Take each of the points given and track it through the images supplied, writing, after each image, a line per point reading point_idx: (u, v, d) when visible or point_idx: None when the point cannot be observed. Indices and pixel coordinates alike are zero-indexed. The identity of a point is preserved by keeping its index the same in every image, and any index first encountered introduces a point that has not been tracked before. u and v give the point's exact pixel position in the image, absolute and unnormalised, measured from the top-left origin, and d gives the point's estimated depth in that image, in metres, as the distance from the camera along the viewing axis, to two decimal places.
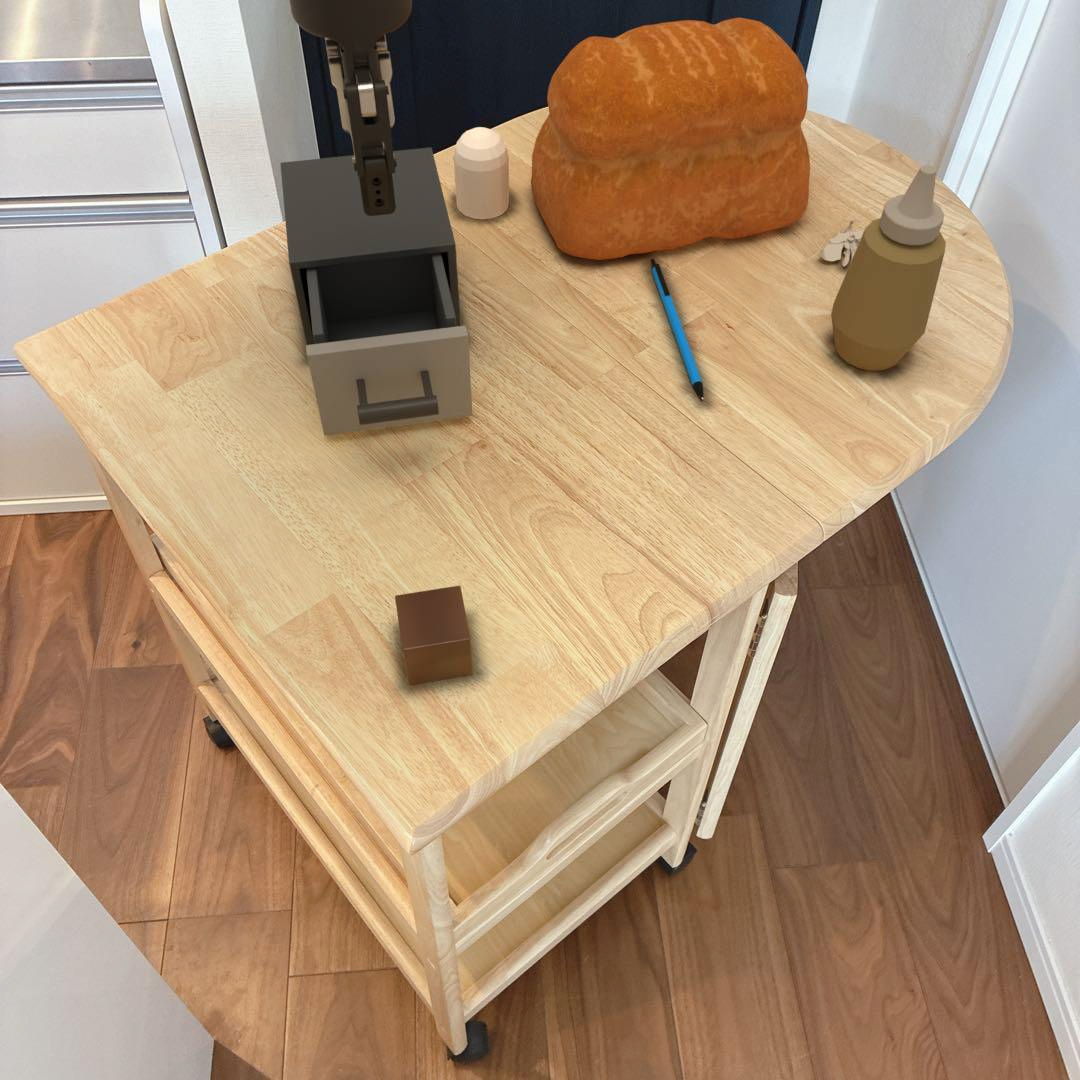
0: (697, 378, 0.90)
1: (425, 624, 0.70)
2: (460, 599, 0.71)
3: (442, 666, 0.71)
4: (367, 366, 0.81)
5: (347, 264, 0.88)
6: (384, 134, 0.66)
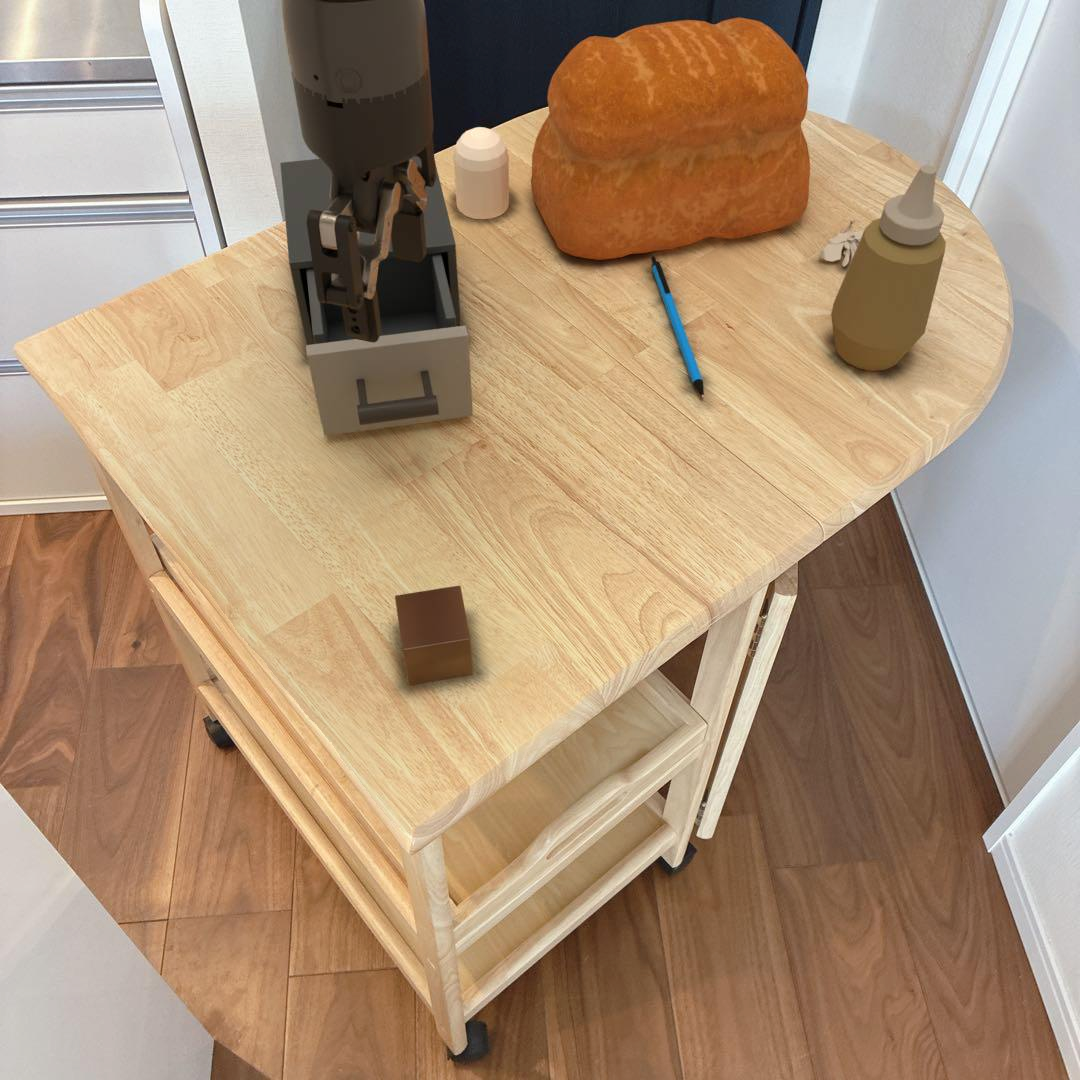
0: (697, 376, 0.90)
1: (425, 624, 0.70)
2: (460, 599, 0.71)
3: (442, 666, 0.71)
4: (367, 366, 0.81)
5: None
6: (344, 270, 0.60)
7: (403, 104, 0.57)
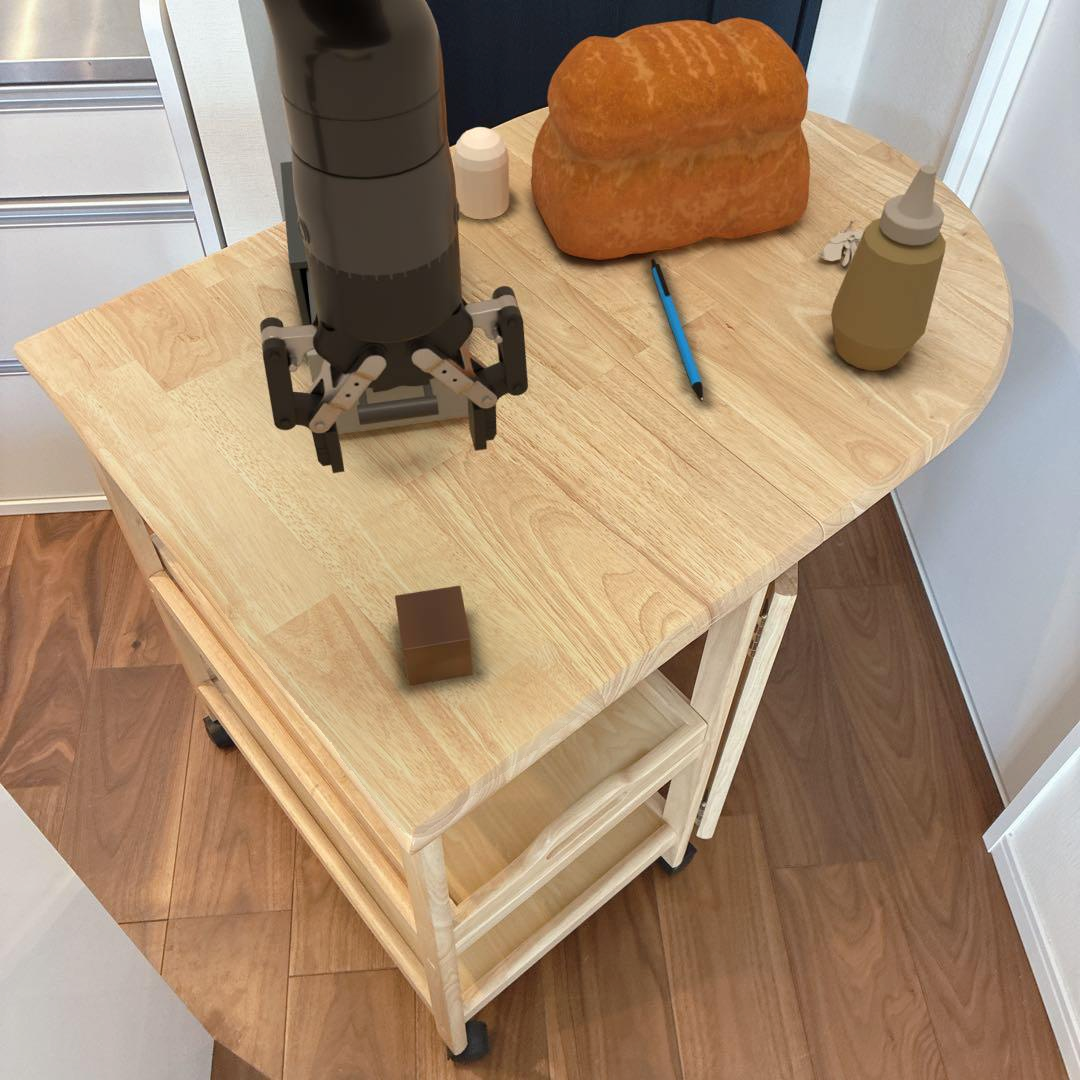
0: (697, 378, 0.90)
1: (425, 624, 0.70)
2: (460, 599, 0.71)
3: (442, 666, 0.71)
4: None
5: None
6: None
7: (348, 286, 0.50)
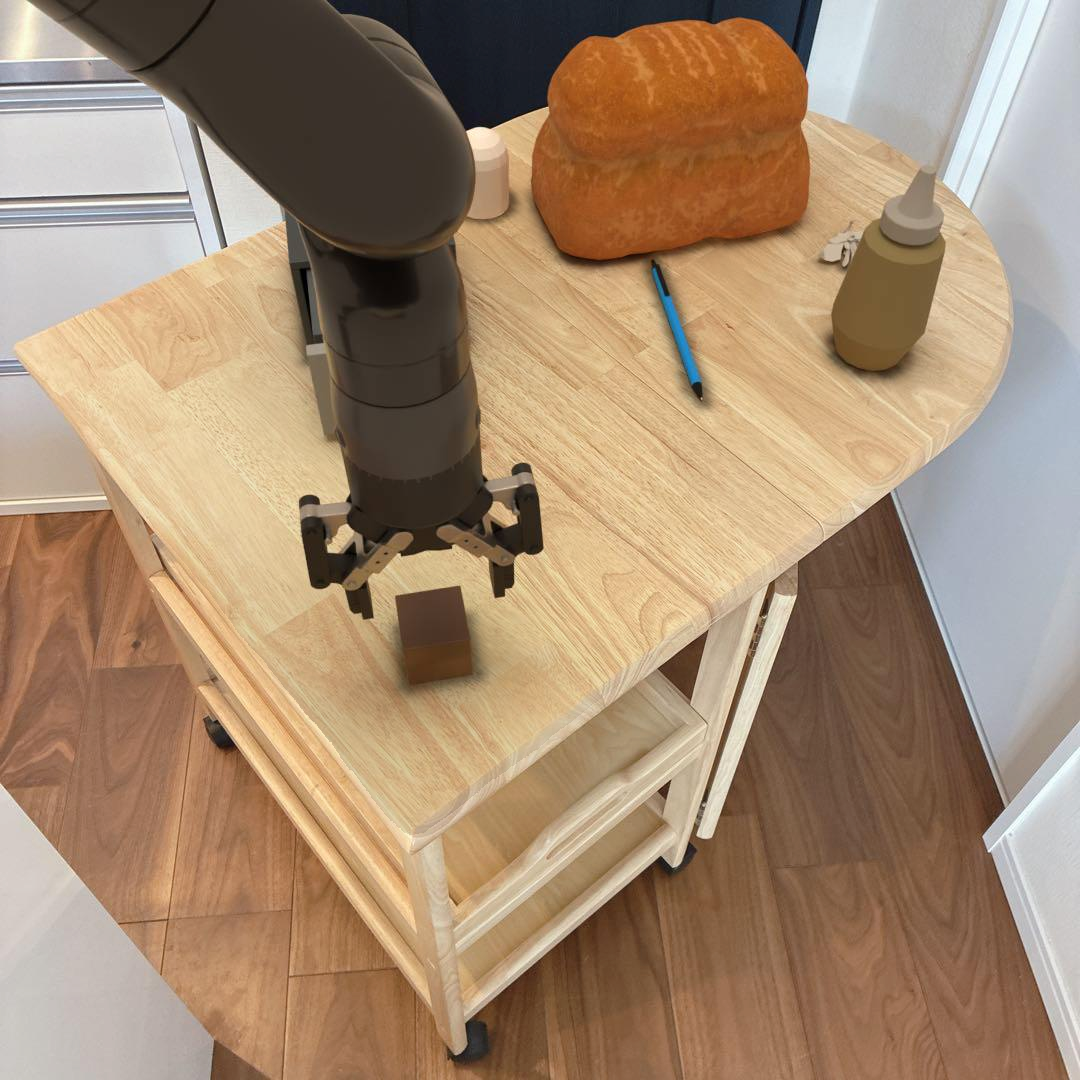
0: (696, 378, 0.90)
1: (425, 624, 0.70)
2: (460, 599, 0.71)
3: (442, 666, 0.71)
4: None
5: None
6: None
7: (379, 486, 0.55)
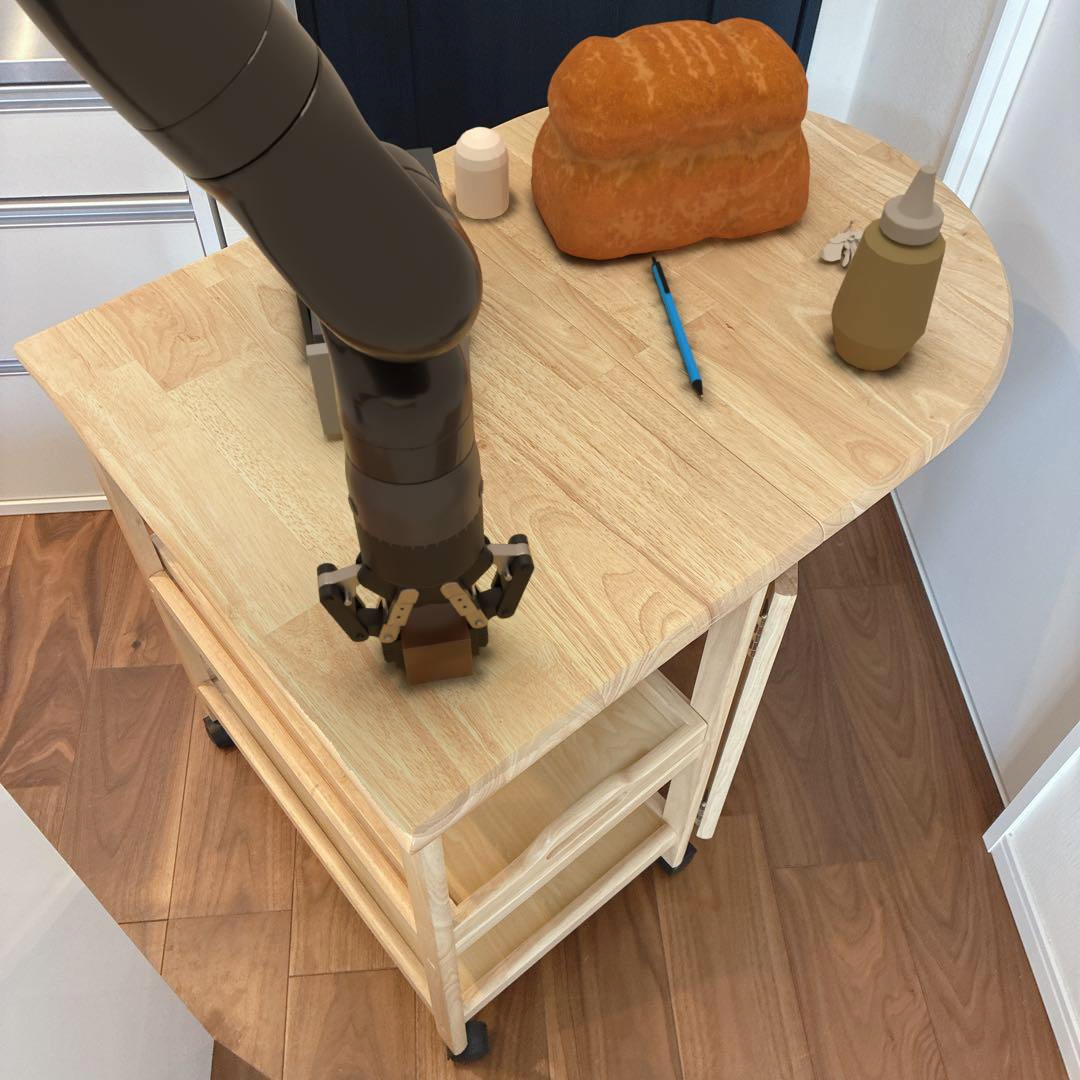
0: (696, 376, 0.90)
1: (425, 624, 0.70)
2: None
3: (442, 667, 0.71)
4: None
5: None
6: None
7: (389, 551, 0.59)
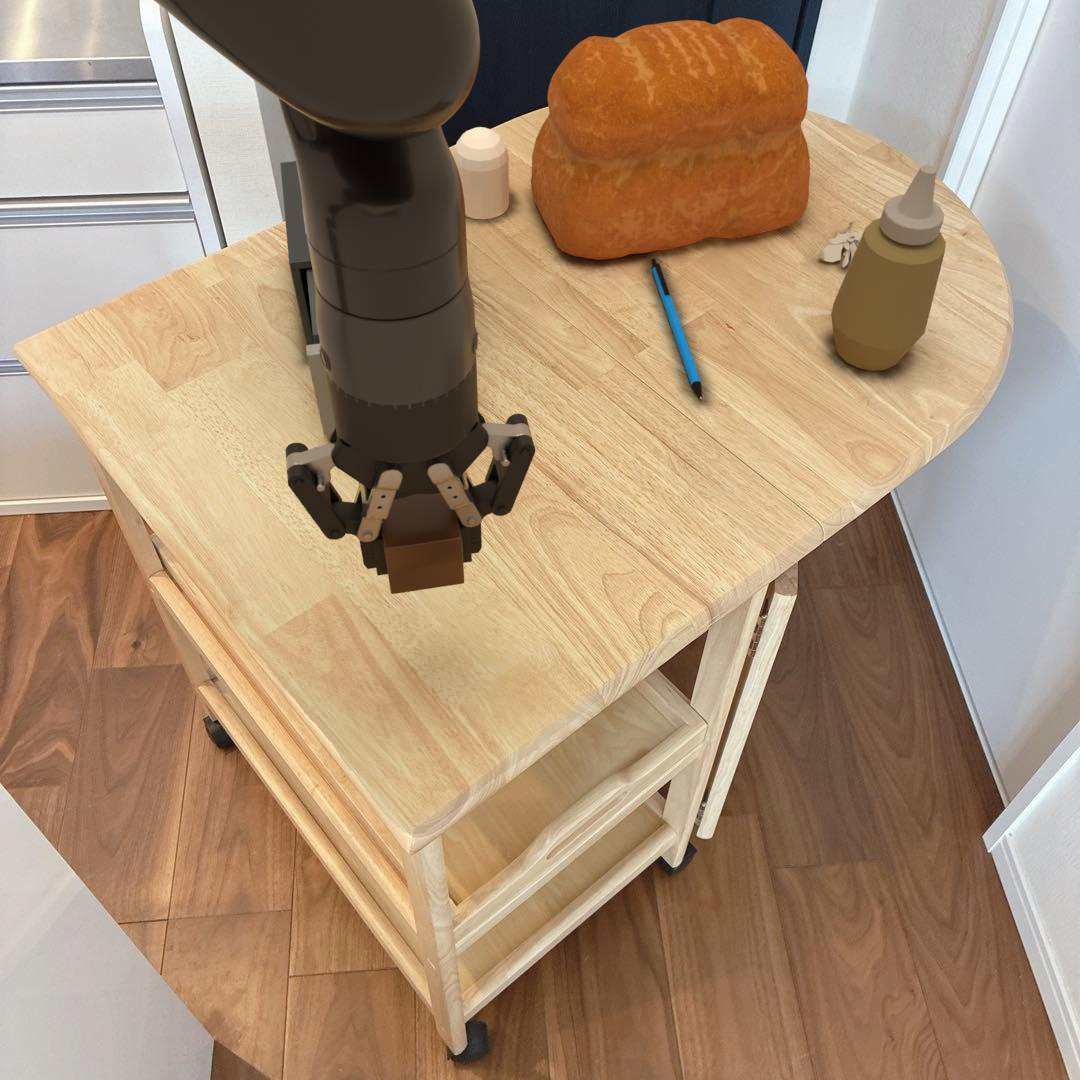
0: (696, 378, 0.90)
1: (410, 522, 0.62)
2: None
3: (430, 572, 0.63)
4: None
5: None
6: None
7: (367, 413, 0.51)
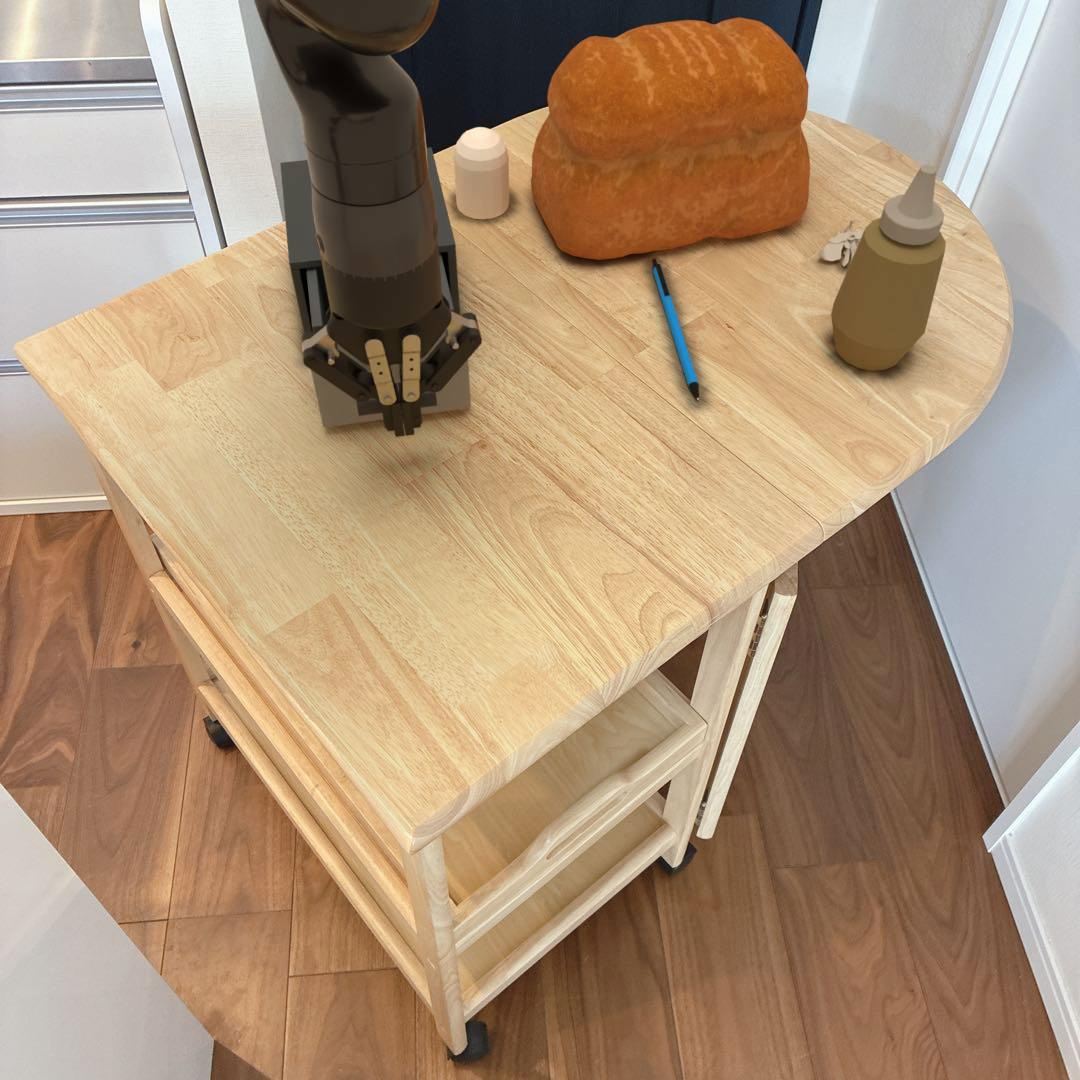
0: (693, 378, 0.90)
1: None
2: None
3: None
4: None
5: None
6: None
7: (353, 285, 0.65)
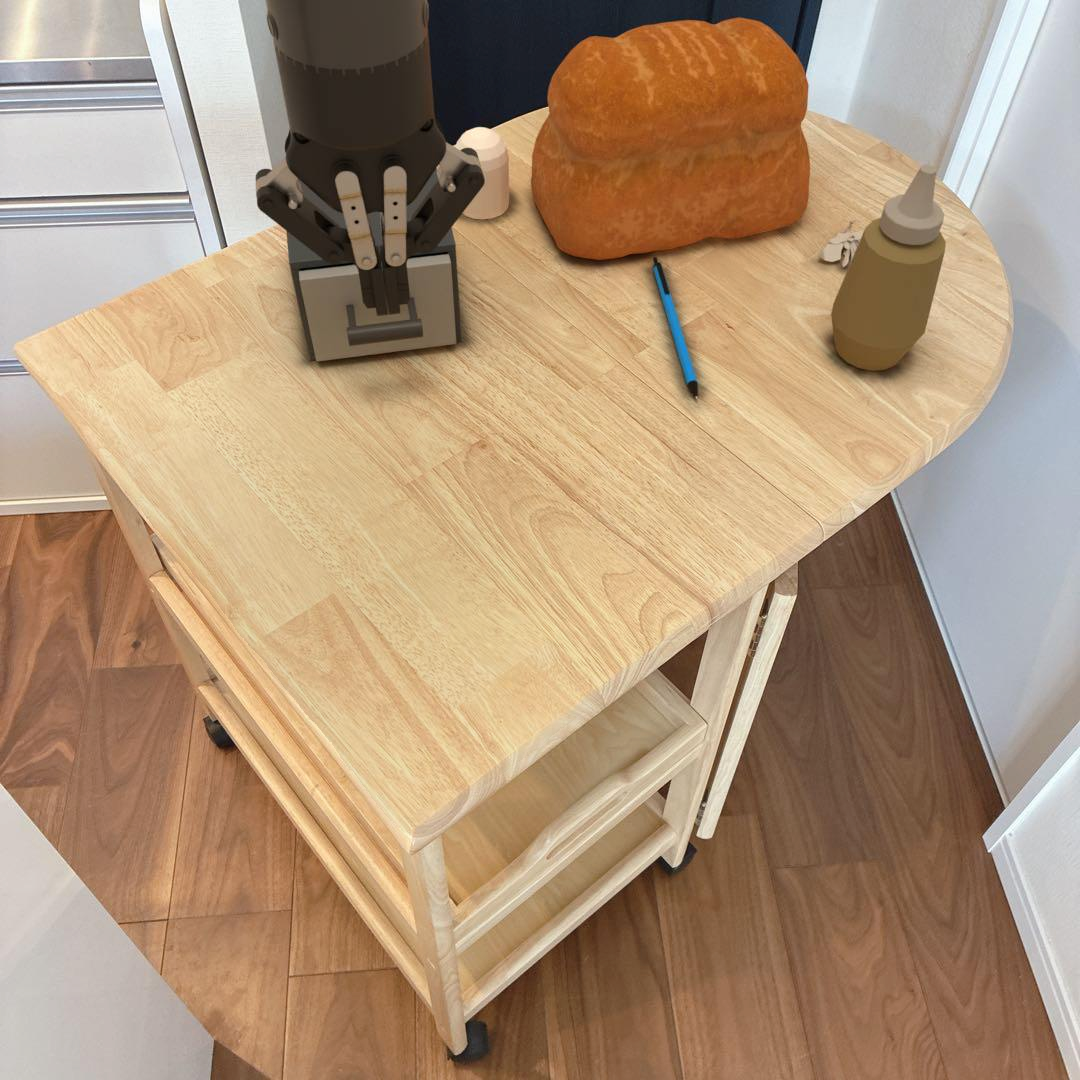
0: (692, 377, 0.90)
1: None
2: None
3: None
4: (356, 292, 0.86)
5: None
6: None
7: (316, 83, 0.50)
